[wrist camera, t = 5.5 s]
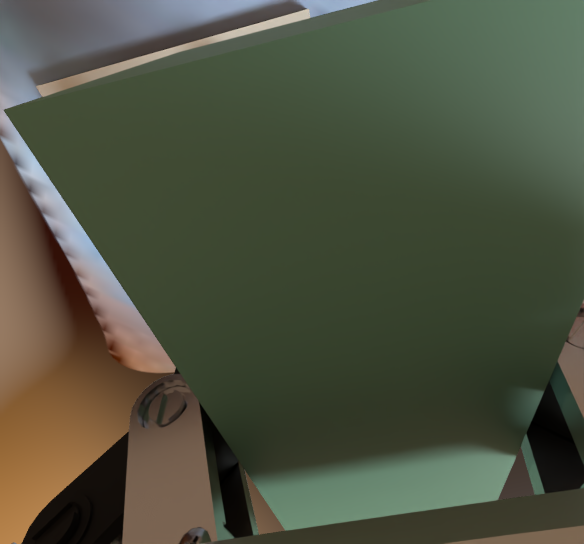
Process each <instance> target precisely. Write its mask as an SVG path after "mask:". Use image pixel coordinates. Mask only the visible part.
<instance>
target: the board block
mask: <svg viewBox="0 0 584 544" xmlns="http://www.w3.org/2000/svg"><path fill="white" fill-rule="evenodd" d="M4 111H5V113H6V114H7V116H8V117H9V119H10V120H11V122H12V123H13V125H14V126H15V128H16V129H17V131H18V132H19V134H20V135H21V137H22V138H23V140H24V141H25V143H26V144H27V146H28V147H29V149H30V150H31V152H32V153H33V155H34V156H35V158H36V159H37V161H38V162H39V164H40V165H41V167H42V168H43V170H44V171H45V173H46V174H47V176H48V177H49V179H50V180H51V182H52V183H53V185H54V186H55V187H56V189H57V190H58V192H59V193H60V195H61V196H62V198H63V199H64V201H65V202H66V204H67V205H68V207H69V208H70V210H71V211H72V213H73V214H74V216H75V217H76V219H77V220H78V222H79V223H80V225H81V226H82V228H83V229H84V231H85V232H86V234H87V235H88V237H89V238H90V240H91V241H92V243H93V244H94V246H95V247H96V249H97V250H98V252H99V253H100V255H101V256H102V258H103V259H104V261H105V262H106V264H107V265H108V267H109V268H110V269H111V271H112V272H113V274H114V275H115V277H116V278H117V280H118V281H119V283H120V284H121V286H122V287H123V289H124V290H125V292H126V293H127V295H128V296H129V298H130V299H131V301H132V302H133V304H134V305H135V307H136V308H137V310H138V311H139V313H140V314H141V316H142V317H143V319H144V320H145V322H146V323H147V325H148V326H149V328H150V329H151V331H152V332H153V334H154V335H155V337H156V338H157V340H158V341H159V343H160V344H161V346H162V347H163V349H164V350H165V352H166V353H167V354H168V356H169V357H170V359H171V360H172V362H173V363H174V365H175V366H176V368H177V369H178V371H179V372H180V374H181V375H182V377H183V378H184V380H185V381H186V383H187V384H188V386H189V387H190V389H191V390H192V392H193V393H194V395H195V396H196V398H197V399H198V401H199V402H200V404H201V405H202V407H203V408H204V410H205V411H206V413H207V414H208V416H209V417H210V419H211V420H212V422H213V423H214V425H215V426H216V428H217V429H218V431H219V432H220V434H221V435H222V436H223V438H224V439H225V441H226V442H227V444H228V445H229V447H230V448H231V450H232V451H233V453H234V454H235V456H236V457H237V459H238V460H239V462H240V463H241V465H242V466H243V468H244V469H245V471H246V472H247V474H248V475H249V477H250V478H251V480H252V481H253V483H254V484H255V486H256V487H257V489H258V490H259V491H260V493H261V495H262V496H263V497H264V499H265V501H266V502H267V504H268V505H269V506H270V508H271V509H272V511H273V513H274V514H275V515H276V517H277V519H278V520H279V521H280V523H281V524H282V526H283V527H284V529H285V530H286V531H288V530H294V529H301V528H308V527H315V526H321V525H328V524H335V523H342V522H349V521H356V520H363V519H370V518H377V517H384V516H391V515H398V514H405V513H411V512H418V511H425V510H432V509H440V508H447V507H454V506H461V505H468V504H475V503H482V502H489V501H496V500H498V498H499V495H500V493H501V491H502V488H503V486H504V484H505V481H506V479H507V477H508V474H509V472H510V470H511V467H512V465H513V463H514V461H515V458H516V456H517V453H518V451H519V449H520V447H521V444H522V442H523V440H524V437H525V435H526V433H527V430H528V428H529V426H530V423H531V421H532V419H533V416H534V414H535V412H536V409H537V407H538V405H539V403H540V400H541V398H542V396H543V393H544V391H545V389H546V386H547V384H548V382H549V379H550V377H551V375H552V372H553V370H554V368H555V365H556V363H557V361H558V358H559V356H560V354H561V351H562V349H563V347H564V344H565V342H566V340H567V338H568V335H569V333H570V331H571V328H572V326H573V324H574V321H575V319H576V317H577V314H578V312H579V310H580V307H581V305H582V303H583V300H584V0H378V1H374V2H370V3H366V4H362V5H358V6H355V7H351V8H347V9H343V10H339V11H335V12H331V13H328V14H324V15H320V16H316V17H312V18H308V19H304V20H301V21H297V22H293V23H289V24H285V25H281V26H278V27H274V28H270V29H266V30H262V31H258V32H254V33H251V34H247V35H243V36H239V37H235V38H231V39H227V40H224V41H220V42H216V43H212V44H208V45H204V46H200V47H197V48H193V49H189V50H185V51H181V52H178V53H175V54H172V55H169V56H166V57H163V58H159V59H156V60H153V61H150V62H147V63H144V64H141V65H138V66H135V67H132V68H129V69H126V70H123V71H120V72H117V73H114V74H111V75H108V76H105V77H102V78H99V79H96V80H93V81H90V82H87V83H84V84H81V85H78V86H75V87H72V88H68V89H65V90H62V91H59V92H56V93H53V94H50V95H47V96H44V97H41V98H38V99H35V100H32V101H29V102H26V103H23V104H20V105H17V106H14V107H11V108H8V109H5V110H4Z"/></svg>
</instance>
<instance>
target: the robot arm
mask: <svg viewBox="0 0 584 544" xmlns="http://www.w3.org/2000/svg"><path fill="white" fill-rule="evenodd" d="M521 448H522V451H523V455H524V458H525V462H526V465H527V469H528V472H529V476H530V479H531V482H532V486H533V489H534V493H535V495H532V496H525V497H517V498H510V499H503V500H496V501H489V502H482V503H475V504H468V505H461V506H454V507H447V508H440V509H432V510H425V511H418V512H411V513H405V514H398V515H391V516H384V517H377V518H370V519H363V520H356V521H349V522H342V523H335V524H328V525H321V526H315V527H308V528H301V529H294V530H288V531H281V532H274V533H267V534H261V535H259V533H258V529H257V524H256V519H255V515H254V511H253V506H252V501H251V497H250V492H249V488H248V483H247V479H246V474H245V470H244V468H243V466H242V465H241V463H240V462H239V460H238V459H237V457H236V456H235V454H234V453H233V451H232V450H231V448H230V447H229V445H228V444H227V442H226V441H225V439H224V438H223V436H222V435H221V434H220V432H219V431H218V429H217V428H216V426H215V425H214V423H213V422H212V420H211V419H210V417H209V416H208V414H207V413H206V411H205V410H204V408H203V407H202V405H201V404H200V402H199V401H198V399H197V398H196V396H195V395H194V393H193V392H192V390H191V389H190V387H189V386H188V384H187V383H186V381H185V380H184V378H183V377H182V375H181V374H180V372H179V371H178V369H177V368H176V370H175V373H174V374H172V375H168V376H165V377H162V378H161V379H158V380H157V381H155V382H153V383H152V384H151V385H149V386H148V387H147V388H146V389H145V390H144V391H143V392H142V393H141V395H140V396H139V397H138V398H137V400H136V402H135V404H134V405H133V407H132V411H131V415H130V426H129V432H127V433H126V434H125V435H124V436H123V437H122V438H121V439H120V440H119V441H117V442H116V443H115V444H114V445H113V446H112V447H111V448H110V449H109V450H107V451H106V452H105V453H104V454H103V455H102V456H101V457H100V458H98V459H97V460H96V461H95V462H94V463H93V464H92V465H91V466H90V467H88V468H87V469H86V470H85V471H84V472H83V473H82V474H81V475H79V476H78V477H77V478H76V479H75V480H74V481H73V482H72V483H70V484H69V486H67V487H66V488H65V489H64V490H63V491H62V492H60V493H59V494H58V495H57V496H56V497H55V498H54V499H53V500H52V501H50V502H49V503H48V505H47V506H46V507H45V508H44V509H43V510H42V511H41V512H40V513H39V515H38V516H37V517H36V519H35V520H34V522H33V523H32V524H31V526H30V527H29V529H28V531H27V533H26V536H25V538H24V540H23V542H22V543H21V544H584V303H582V305H581V307H580V310H579V312H578V314H577V317H576V319H575V321H574V324H573V326H572V328H571V331H570V333H569V335H568V338H567V340H566V342H565V344H564V347H563V349H562V351H561V354H560V356H559V358H558V361H557V363H556V365H555V368H554V370H553V372H552V375H551V377H550V379H549V382H548V384H547V386H546V389H545V391H544V393H543V396H542V398H541V400H540V403H539V405H538V407H537V409H536V412H535V414H534V416H533V419H532V421H531V423H530V426H529V428H528V430H527V433H526V435H525V437H524V440H523V442H522V444H521ZM12 544H16V543H12Z"/></svg>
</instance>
